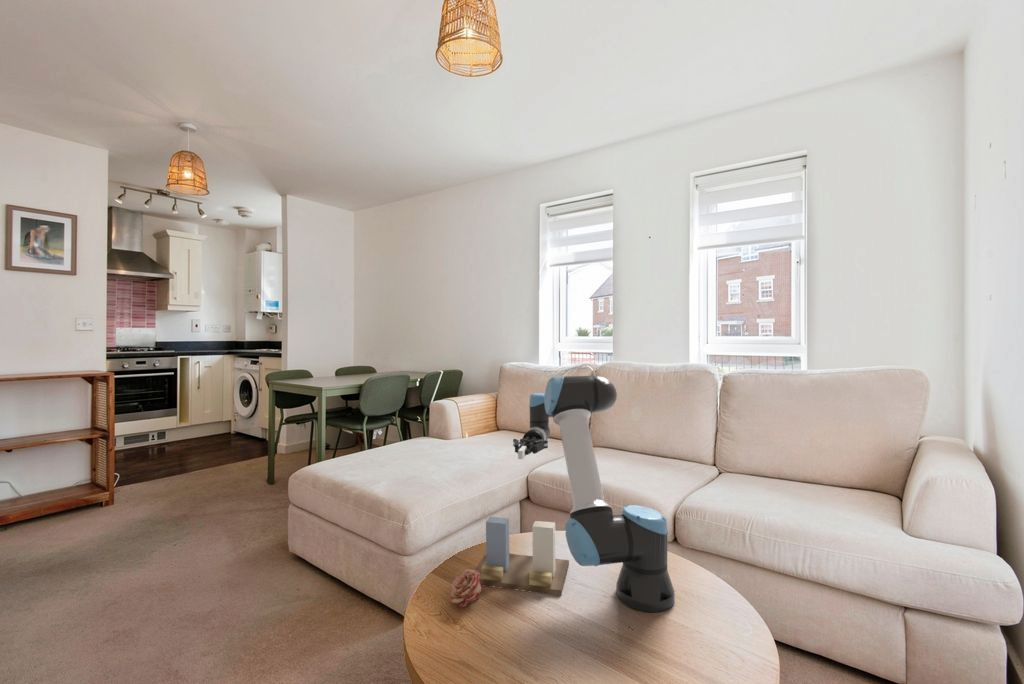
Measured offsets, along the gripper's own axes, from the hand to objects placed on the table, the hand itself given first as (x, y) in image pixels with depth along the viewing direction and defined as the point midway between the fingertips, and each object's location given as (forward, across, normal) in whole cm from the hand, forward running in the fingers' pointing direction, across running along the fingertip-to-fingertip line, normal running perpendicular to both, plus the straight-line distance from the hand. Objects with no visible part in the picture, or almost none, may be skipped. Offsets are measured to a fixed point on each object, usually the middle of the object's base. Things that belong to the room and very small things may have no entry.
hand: (520, 454), depth 148 cm
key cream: (+14, -10, -30) cm, 35 cm away
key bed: (+13, -3, -32) cm, 35 cm away
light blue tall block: (+14, +4, -30) cm, 33 cm away
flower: (+30, +8, -32) cm, 45 cm away
